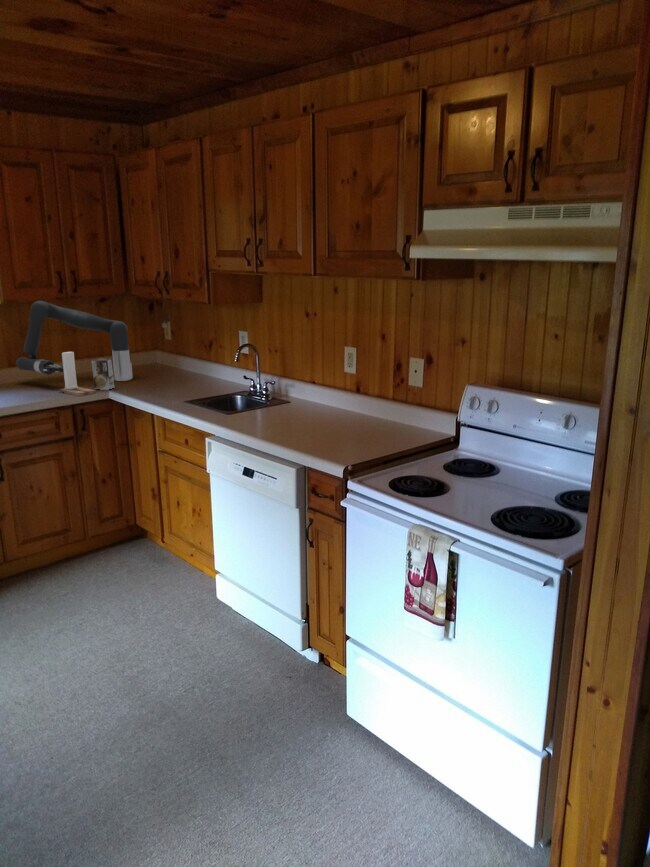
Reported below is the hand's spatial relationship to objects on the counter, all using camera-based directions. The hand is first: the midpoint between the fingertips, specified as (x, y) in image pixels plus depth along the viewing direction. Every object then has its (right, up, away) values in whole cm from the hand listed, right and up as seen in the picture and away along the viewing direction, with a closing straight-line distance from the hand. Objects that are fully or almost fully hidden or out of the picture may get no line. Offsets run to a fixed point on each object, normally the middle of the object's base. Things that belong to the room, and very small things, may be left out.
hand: (64, 370), depth 349 cm
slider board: (+8, -12, -2) cm, 15 cm away
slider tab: (+4, -10, 0) cm, 11 cm away
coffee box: (+19, -10, +7) cm, 23 cm away
